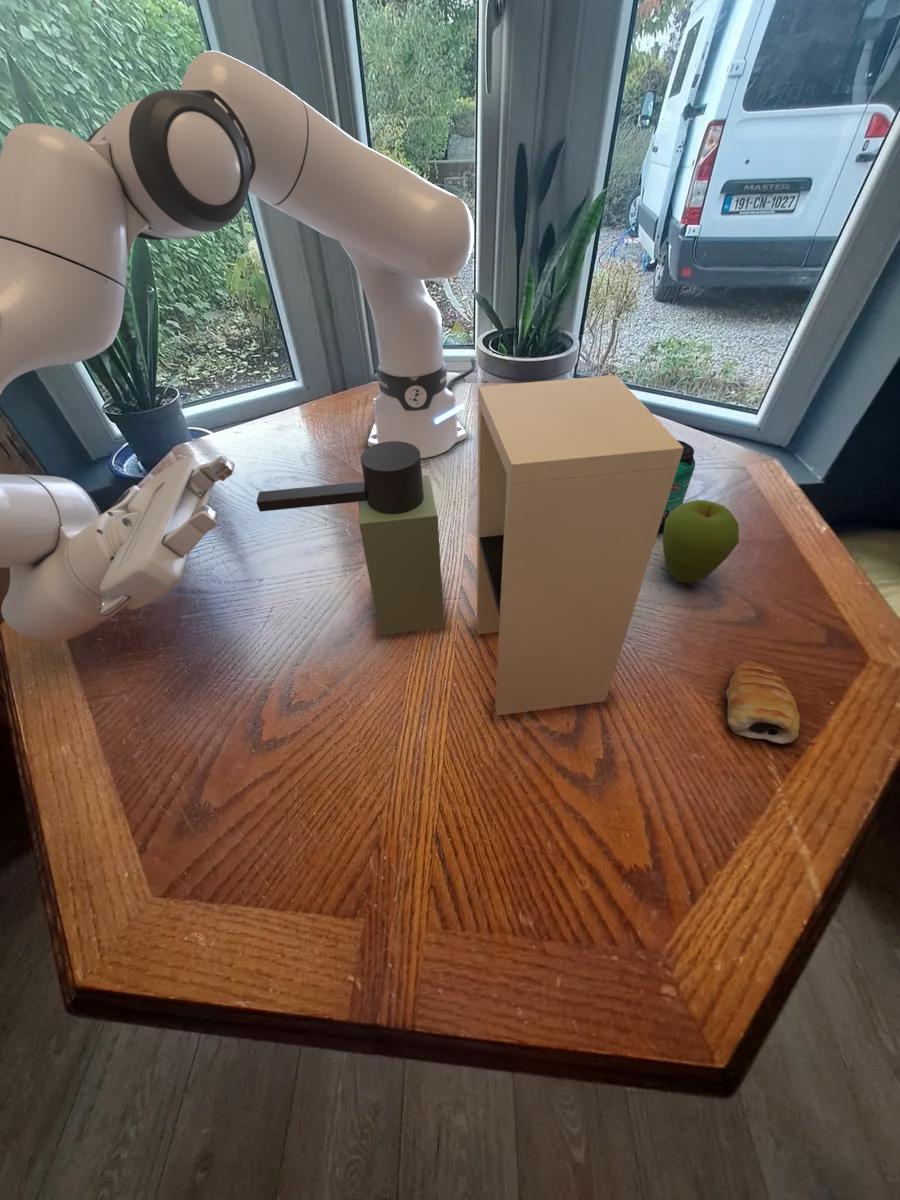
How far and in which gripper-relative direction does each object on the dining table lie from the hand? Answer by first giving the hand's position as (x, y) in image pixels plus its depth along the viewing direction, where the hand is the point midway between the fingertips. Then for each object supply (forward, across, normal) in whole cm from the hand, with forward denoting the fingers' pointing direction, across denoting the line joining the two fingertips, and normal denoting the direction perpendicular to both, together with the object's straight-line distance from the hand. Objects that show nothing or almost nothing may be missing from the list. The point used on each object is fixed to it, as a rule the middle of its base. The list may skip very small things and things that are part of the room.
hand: (221, 487), depth 52 cm
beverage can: (+38, +13, +45) cm, 60 cm away
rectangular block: (+5, 0, +26) cm, 27 cm away
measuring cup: (+8, 0, +9) cm, 12 cm away
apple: (+37, 0, +45) cm, 58 cm away
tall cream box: (+17, -11, +33) cm, 39 cm away
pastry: (+35, -21, +44) cm, 60 cm away
